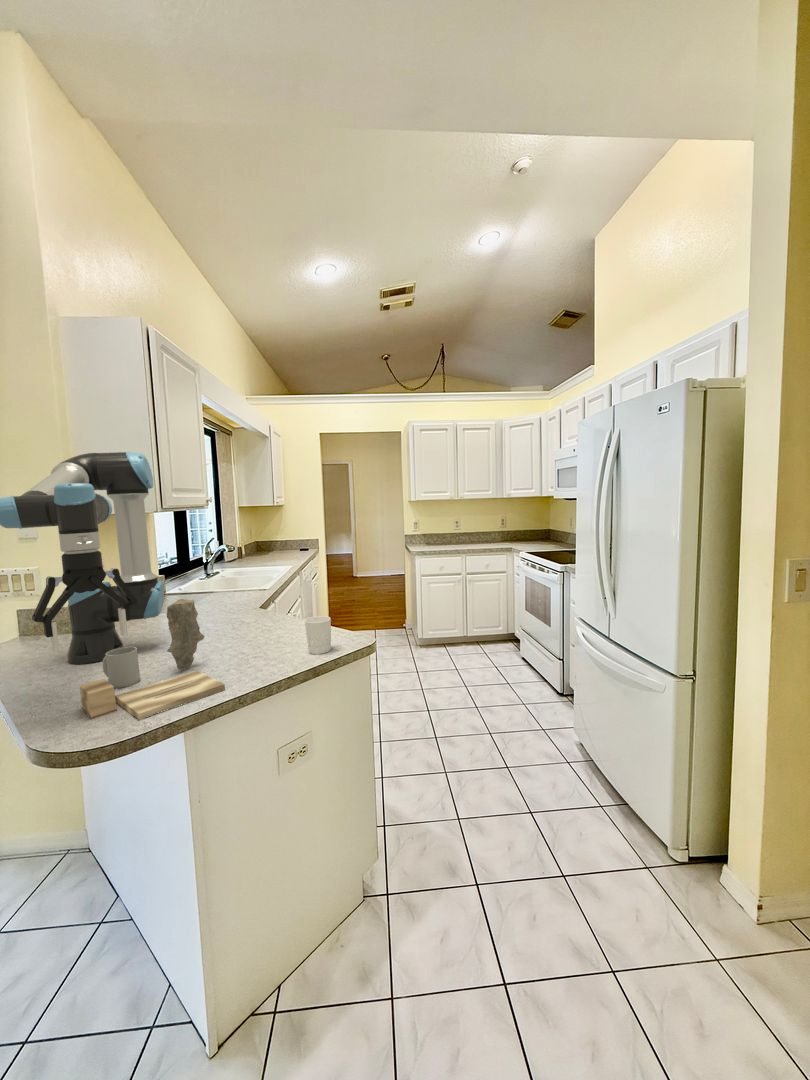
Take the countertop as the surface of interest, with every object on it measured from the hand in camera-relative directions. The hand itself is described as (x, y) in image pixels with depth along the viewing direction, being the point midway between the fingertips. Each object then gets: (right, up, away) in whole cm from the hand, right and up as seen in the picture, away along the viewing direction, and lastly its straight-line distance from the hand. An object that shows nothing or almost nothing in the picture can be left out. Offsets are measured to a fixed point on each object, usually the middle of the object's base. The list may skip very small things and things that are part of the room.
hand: (91, 642), depth 108 cm
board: (+15, -15, +8) cm, 22 cm away
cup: (-4, -15, +18) cm, 24 cm away
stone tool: (+10, -14, +27) cm, 32 cm away
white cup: (+46, -11, +37) cm, 60 cm away
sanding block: (+1, -16, +2) cm, 17 cm away
